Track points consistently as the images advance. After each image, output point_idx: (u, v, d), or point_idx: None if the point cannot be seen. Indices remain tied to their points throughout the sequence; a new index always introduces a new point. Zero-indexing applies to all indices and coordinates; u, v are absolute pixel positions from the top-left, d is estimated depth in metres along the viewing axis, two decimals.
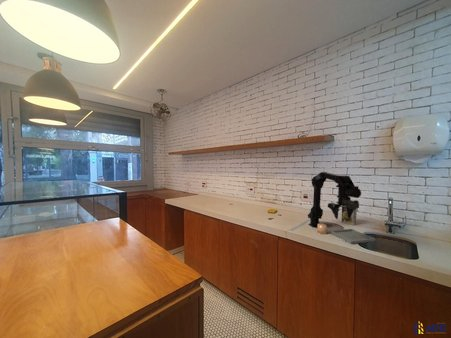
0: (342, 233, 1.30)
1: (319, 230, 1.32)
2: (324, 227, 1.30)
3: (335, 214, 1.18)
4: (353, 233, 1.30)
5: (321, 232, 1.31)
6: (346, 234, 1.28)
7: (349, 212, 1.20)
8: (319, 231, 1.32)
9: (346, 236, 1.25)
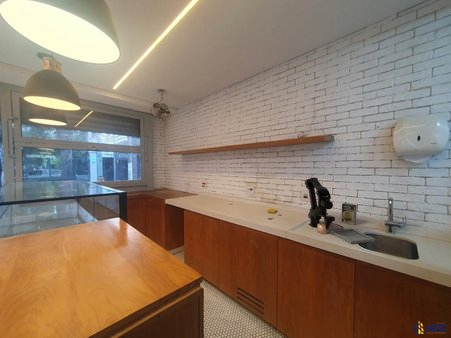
0: (342, 233, 1.30)
1: (319, 230, 1.32)
2: (324, 227, 1.30)
3: None
4: (353, 233, 1.30)
5: (321, 232, 1.31)
6: (346, 234, 1.28)
7: None
8: (319, 231, 1.32)
9: (346, 236, 1.25)
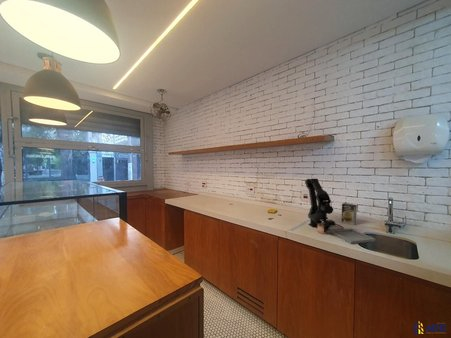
0: (342, 233, 1.30)
1: (319, 230, 1.32)
2: None
3: None
4: (353, 233, 1.30)
5: (321, 232, 1.31)
6: (346, 234, 1.28)
7: None
8: (319, 231, 1.32)
9: (346, 236, 1.25)
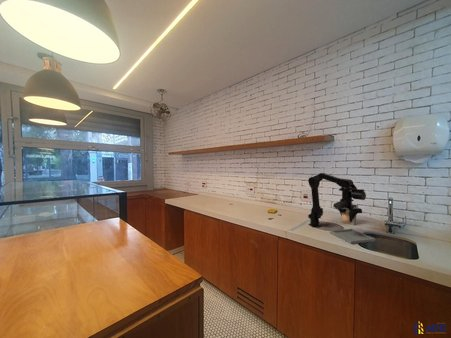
0: (342, 233, 1.30)
1: (344, 219, 1.24)
2: None
3: None
4: (353, 233, 1.30)
5: (346, 221, 1.23)
6: (346, 234, 1.28)
7: None
8: (344, 220, 1.24)
9: (346, 236, 1.25)
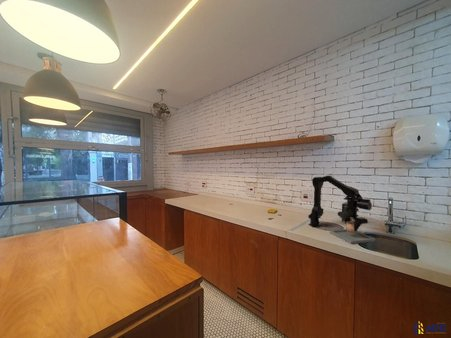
0: (342, 233, 1.30)
1: (348, 228, 1.23)
2: None
3: None
4: (353, 233, 1.30)
5: (351, 230, 1.22)
6: (346, 234, 1.28)
7: None
8: (348, 229, 1.23)
9: (346, 236, 1.25)
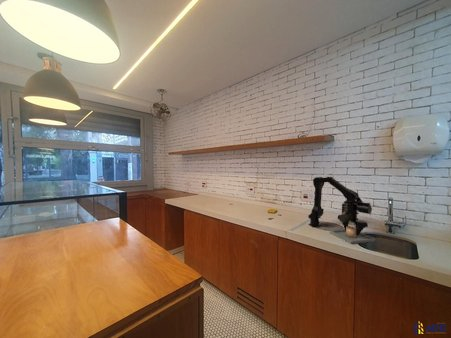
0: (342, 233, 1.30)
1: (348, 234, 1.24)
2: (354, 230, 1.22)
3: None
4: None
5: (351, 236, 1.22)
6: None
7: None
8: (348, 235, 1.24)
9: (346, 236, 1.25)
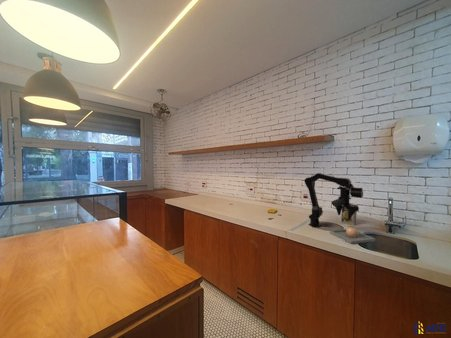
0: (342, 233, 1.30)
1: (348, 234, 1.23)
2: (354, 230, 1.22)
3: None
4: None
5: (351, 236, 1.22)
6: None
7: None
8: (348, 235, 1.24)
9: (346, 236, 1.25)
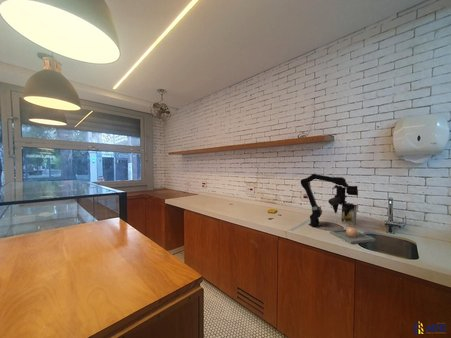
0: (342, 233, 1.30)
1: (348, 233, 1.23)
2: (354, 230, 1.22)
3: None
4: None
5: (351, 236, 1.22)
6: None
7: None
8: (348, 235, 1.23)
9: (346, 236, 1.25)
